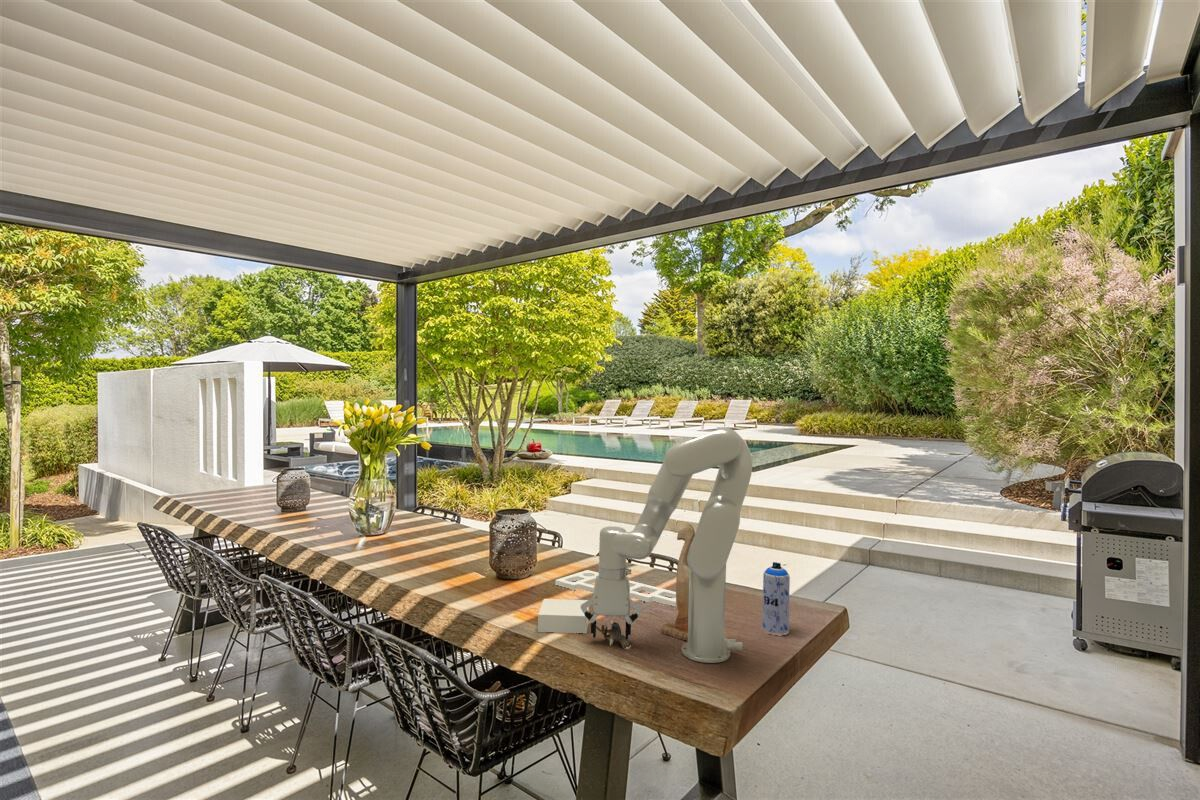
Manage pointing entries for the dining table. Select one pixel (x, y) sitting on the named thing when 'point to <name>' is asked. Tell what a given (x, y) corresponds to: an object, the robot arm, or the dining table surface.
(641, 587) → the holder
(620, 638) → the eagle figurine
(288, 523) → the dining table surface
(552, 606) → the stand
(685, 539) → the bird sculpture
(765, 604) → the aerosol can
